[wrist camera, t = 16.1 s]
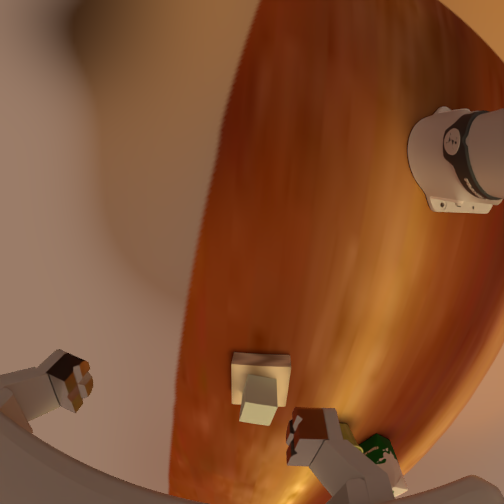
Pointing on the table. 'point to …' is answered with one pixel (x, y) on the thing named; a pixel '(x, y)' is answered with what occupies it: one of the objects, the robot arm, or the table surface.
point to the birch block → (260, 373)
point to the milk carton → (385, 461)
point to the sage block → (259, 400)
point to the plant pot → (349, 435)
